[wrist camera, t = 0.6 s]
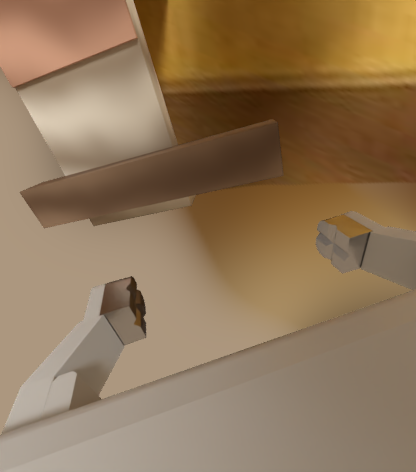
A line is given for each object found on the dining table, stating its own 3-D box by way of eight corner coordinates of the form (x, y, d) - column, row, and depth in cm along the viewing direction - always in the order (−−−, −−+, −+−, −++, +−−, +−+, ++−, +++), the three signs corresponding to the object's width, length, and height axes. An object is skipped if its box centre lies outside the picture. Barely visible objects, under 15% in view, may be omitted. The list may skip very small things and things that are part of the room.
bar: (42, 182, 25) (19, 192, 22) (272, 119, 19) (277, 122, 17) (62, 215, 26) (44, 228, 24) (277, 166, 21) (283, 175, 19)
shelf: (94, -10, 36) (-147, -191, 13) (165, -43, 33) (14, -341, 11) (158, 168, 49) (92, 227, 26) (213, 154, 46) (190, 206, 24)
